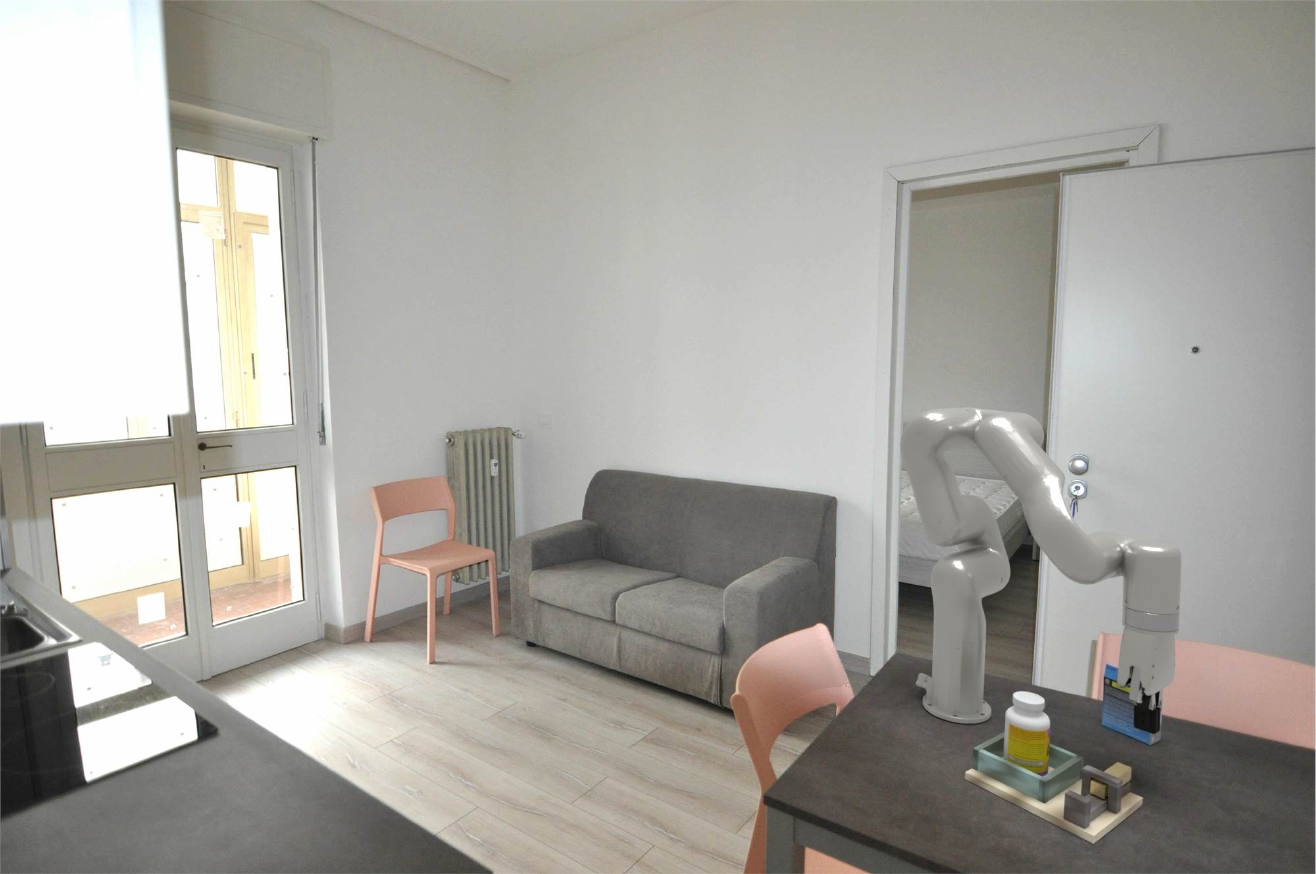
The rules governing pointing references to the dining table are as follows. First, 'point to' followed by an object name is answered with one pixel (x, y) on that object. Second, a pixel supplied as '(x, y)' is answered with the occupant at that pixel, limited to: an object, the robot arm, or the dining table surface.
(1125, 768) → the lock bolt
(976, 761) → the dock
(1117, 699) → the label tape box
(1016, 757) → the supplement bottle
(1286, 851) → the dining table surface
